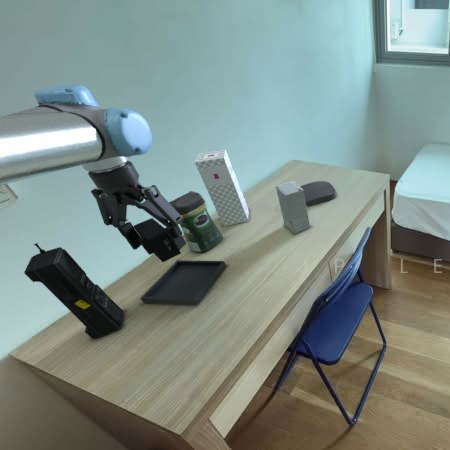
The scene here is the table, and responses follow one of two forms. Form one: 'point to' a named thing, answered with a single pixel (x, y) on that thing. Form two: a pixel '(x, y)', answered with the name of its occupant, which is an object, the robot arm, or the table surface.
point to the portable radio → (75, 291)
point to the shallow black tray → (184, 282)
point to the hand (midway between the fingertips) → (160, 246)
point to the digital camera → (156, 240)
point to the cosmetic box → (293, 206)
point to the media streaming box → (318, 192)
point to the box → (222, 186)
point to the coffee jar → (196, 222)
